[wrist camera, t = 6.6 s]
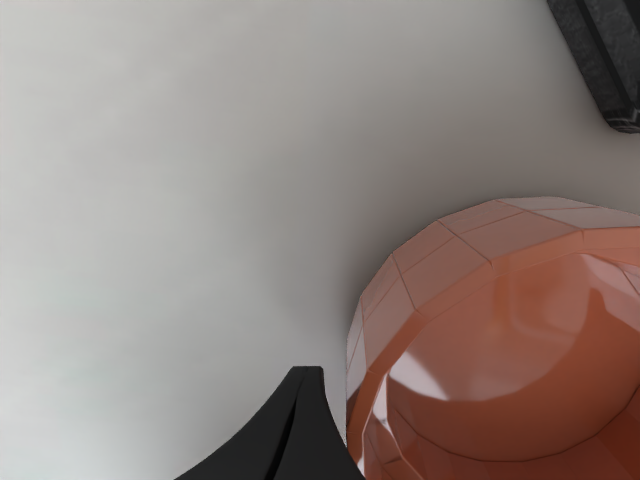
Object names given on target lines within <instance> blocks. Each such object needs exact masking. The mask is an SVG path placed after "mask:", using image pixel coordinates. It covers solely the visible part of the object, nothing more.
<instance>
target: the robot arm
mask: <svg viewBox="0 0 640 480" xmlns="http://www.w3.org/2000/svg"><path fill="white" fill-rule="evenodd" d="M174 480H366V478H365V477H364V476H363V474H362V473H361V471H360V470H359V468H358V466H357V465H356V463H355V461H354V460H353V458H352V457H351V455H350V453H349V452H348V450H347V448H346V446H345V444H344V442H343V440H342V438H341V436H340V434H339V432H338V429H337V427H336V425H335V422H334V420H333V417H332V414H331V412H330V409H329V406H328V402H327V399H326V395H325V385H324V372H323V368H322V367H321V366H293V367H292V368H291V369H290V371H289V372H288V374H287V375H286V376H285V378H284V379H283V381H282V382H281V383H280V385H279V386H278V387H277V389H276V390H275V391H274V393H273V394H272V395H271V396H270V398H269V399H268V400H267V401H266V403H265V404H264V405H263V406H262V407H261V408H260V409H259V411H258V412H257V413H256V414H255V415H254V416H253V417H252V418H251V419H250V420H249V421H248V423H247V424H246V425H245V426H244V427H243V428H242V429H241V430H239V431H238V432H237V433H236V434H235V435H234V436H233V437H232V438H231V439H230V440H229V441H227V442H226V443H225V444H224V445H222V446H221V447H220V448H219V449H217V450H216V451H215V452H214V453H212V454H211V455H210V456H208V457H207V458H206V459H204V460H203V461H202V462H200V463H199V464H197V465H196V466H194V467H193V468H191V469H190V470H188V471H187V472H185V473H184V474H182V475H181V476H179V477H177V478H176V479H174Z"/></svg>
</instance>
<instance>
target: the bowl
mask: <svg viewBox="0 0 640 480" xmlns="http://www.w3.org/2000/svg"><path fill="white" fill-rule="evenodd" d="M346 440H347V450H348V452H349V453H350V455H351V457H352V458H353V460H354V461H355V463H356V465H357V466H358V468H359V470H360V471H361V473H362V474H363V476H364V477H365V478H366V480H640V215H638V214H633V213H628V212H624V211H619V210H615V209H610V208H606V207H601V206H597V205H592V204H588V203H583V202H579V201H574V200H570V199H565V198H561V197H554V196H545V197H526V198H507V199H494V200H490V201H487V202H484V203H481V204H479V205H476V206H473V207H470V208H467V209H465V210H462V211H459V212H456V213H453V214H450V215H448V216H445V217H442V218H439V219H438V220H436V221H434V222H433V223H431V224H430V225H429V226H427V227H426V228H425V229H423V230H422V231H420V232H419V233H418V234H416V235H415V236H414V237H412V238H411V239H409V240H408V241H407V242H405V243H404V244H403V245H401V246H400V247H399V248H397V249H396V250H394V251H393V252H392V254H390V255H389V257H388V258H387V259H386V261H385V262H384V264H383V265H382V266H381V268H380V269H379V270H378V272H377V273H376V274H375V276H374V277H373V279H372V280H371V281H370V283H369V284H368V285H367V287H366V288H365V289H364V291H363V292H362V295H361V296H360V299H359V302H358V305H357V308H356V311H355V315H354V318H353V321H352V324H351V328H350V331H349V334H348V337H347V381H346Z"/></svg>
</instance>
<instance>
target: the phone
mask: <svg viewBox="0 0 640 480" xmlns="http://www.w3.org/2000/svg"><path fill="white" fill-rule="evenodd" d="M547 2H548V4H549V6H550V8H551V10H552V12H553V14H554V16H555V18H556V20H557V22H558V24H559V26H560V28H561V30H562V32H563V34H564V36H565V39H566V41H567V43H568V45H569V47H570V49H571V51H572V53H573V55H574V57H575V59H576V61H577V63H578V65H579V67H580V69H581V71H582V73H583V75H584V78H585V80H586V82H587V84H588V86H589V88H590V90H591V92H592V94H593V96H594V98H595V100H596V102H597V104H598V106H599V108H600V110H601V112H602V114H603V117H604V118H605V120H606V121H607V122H608V124H609V125H610V126H611V127H613V128H614V129H616V130H618V131H619V132H625V133H640V0H547Z"/></svg>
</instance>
